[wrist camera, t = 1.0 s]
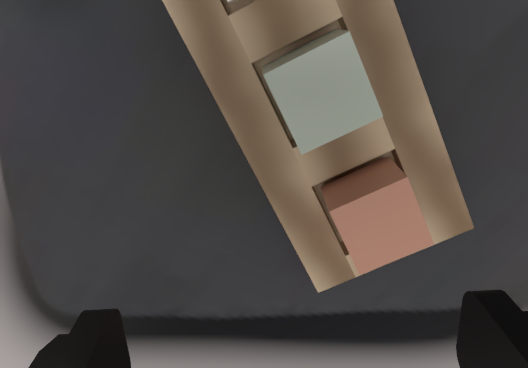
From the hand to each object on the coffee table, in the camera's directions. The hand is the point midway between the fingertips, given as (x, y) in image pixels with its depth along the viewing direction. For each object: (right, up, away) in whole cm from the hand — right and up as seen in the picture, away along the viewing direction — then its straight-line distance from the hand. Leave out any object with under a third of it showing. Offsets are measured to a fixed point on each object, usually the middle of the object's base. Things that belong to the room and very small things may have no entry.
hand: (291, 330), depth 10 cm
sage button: (+3, +10, +17) cm, 20 cm away
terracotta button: (+7, +2, +20) cm, 21 cm away
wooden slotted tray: (+3, +10, +19) cm, 22 cm away
